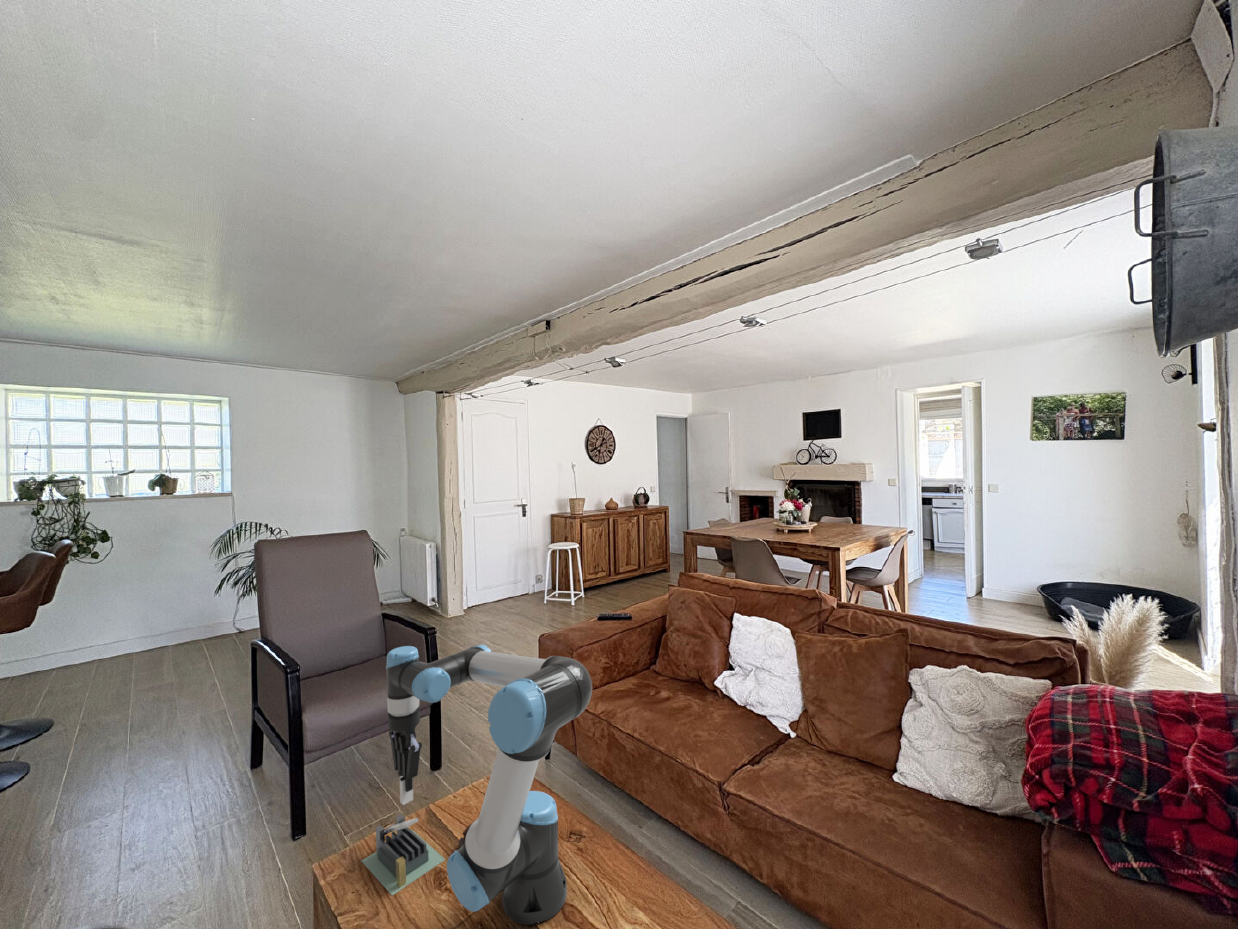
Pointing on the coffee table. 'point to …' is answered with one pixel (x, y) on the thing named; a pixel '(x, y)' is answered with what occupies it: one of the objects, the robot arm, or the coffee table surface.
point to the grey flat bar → (400, 825)
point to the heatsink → (403, 851)
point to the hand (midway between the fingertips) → (406, 801)
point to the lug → (400, 872)
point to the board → (390, 880)
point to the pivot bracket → (381, 834)
